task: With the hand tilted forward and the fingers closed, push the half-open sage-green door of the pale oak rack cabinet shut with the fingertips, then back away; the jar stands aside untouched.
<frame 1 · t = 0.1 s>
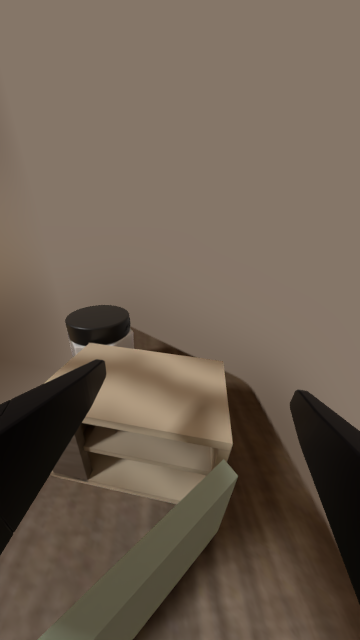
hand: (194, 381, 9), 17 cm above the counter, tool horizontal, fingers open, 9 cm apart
cabinet: (211, 524, 16), on the counter
jar: (108, 381, 30), on the counter
door: (150, 578, 10), point 5 cm above the counter, hinge at 45.0°
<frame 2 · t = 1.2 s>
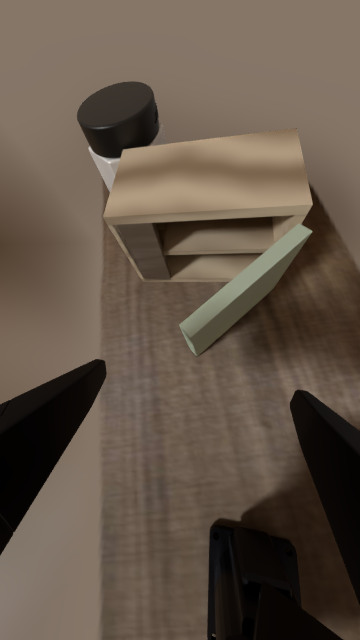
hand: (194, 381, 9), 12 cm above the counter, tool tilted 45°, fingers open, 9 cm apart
cabinet: (267, 287, 22), on the counter
jar: (149, 211, 29), on the counter
door: (238, 302, 17), point 5 cm above the counter, hinge at 45.0°
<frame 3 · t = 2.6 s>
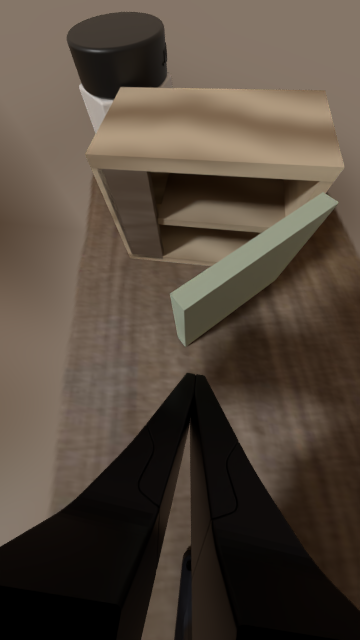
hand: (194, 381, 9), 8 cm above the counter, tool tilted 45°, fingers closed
cabinet: (269, 278, 20), on the counter
jar: (146, 184, 26), on the counter
door: (240, 284, 14), point 5 cm above the counter, hinge at 45.0°
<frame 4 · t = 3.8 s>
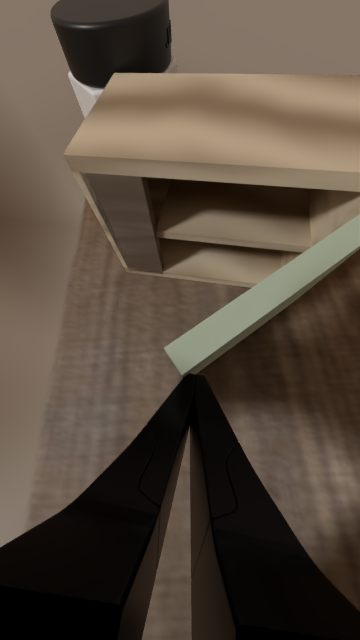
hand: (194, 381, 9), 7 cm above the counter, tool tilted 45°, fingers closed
cabinet: (286, 299, 17), on the counter
jar: (147, 187, 24), on the counter
door: (254, 316, 12), point 5 cm above the counter, hinge at 44.7°, touching gripper
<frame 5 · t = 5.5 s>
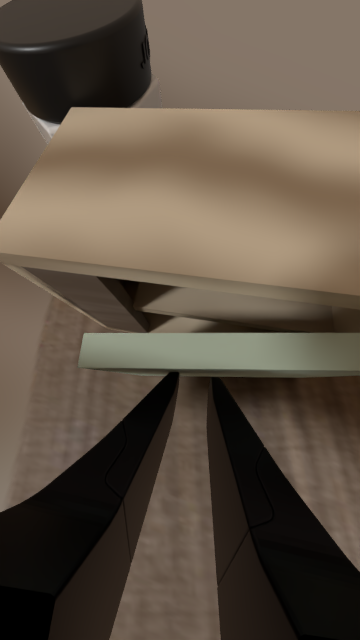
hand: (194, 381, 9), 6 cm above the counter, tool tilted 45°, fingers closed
cabinet: (296, 369, 14), on the counter
jar: (134, 217, 21), on the counter
door: (230, 363, 10), point 5 cm above the counter, hinge at 9.3°, touching gripper
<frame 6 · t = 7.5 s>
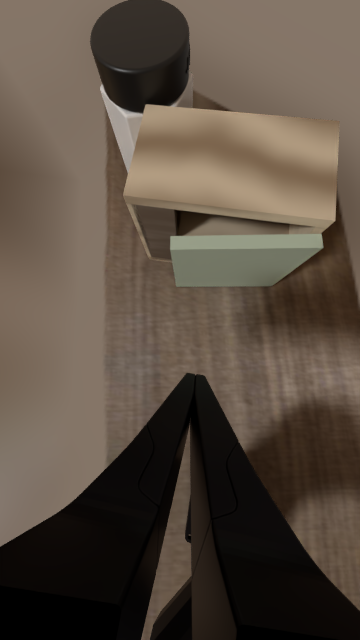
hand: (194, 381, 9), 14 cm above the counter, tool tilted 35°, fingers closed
cabinet: (270, 282, 23), on the counter
jar: (160, 176, 26), on the counter
door: (231, 266, 19), point 5 cm above the counter, hinge at 9.2°
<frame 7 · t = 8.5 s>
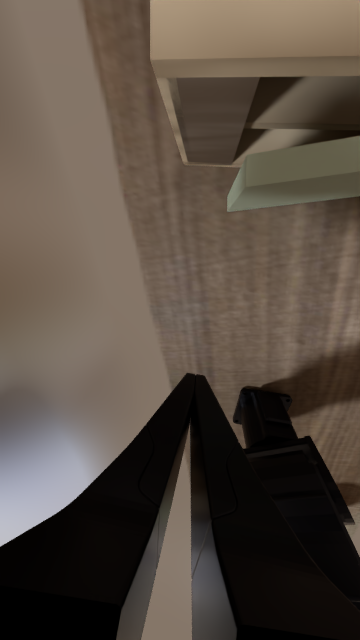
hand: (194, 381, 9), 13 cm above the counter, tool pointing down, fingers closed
door: (333, 179, 11), point 5 cm above the counter, hinge at 9.2°
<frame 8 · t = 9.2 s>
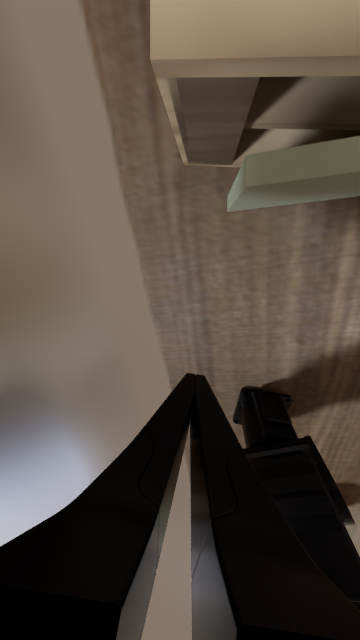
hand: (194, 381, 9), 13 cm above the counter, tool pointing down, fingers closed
door: (333, 179, 11), point 5 cm above the counter, hinge at 9.2°
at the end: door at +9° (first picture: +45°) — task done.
